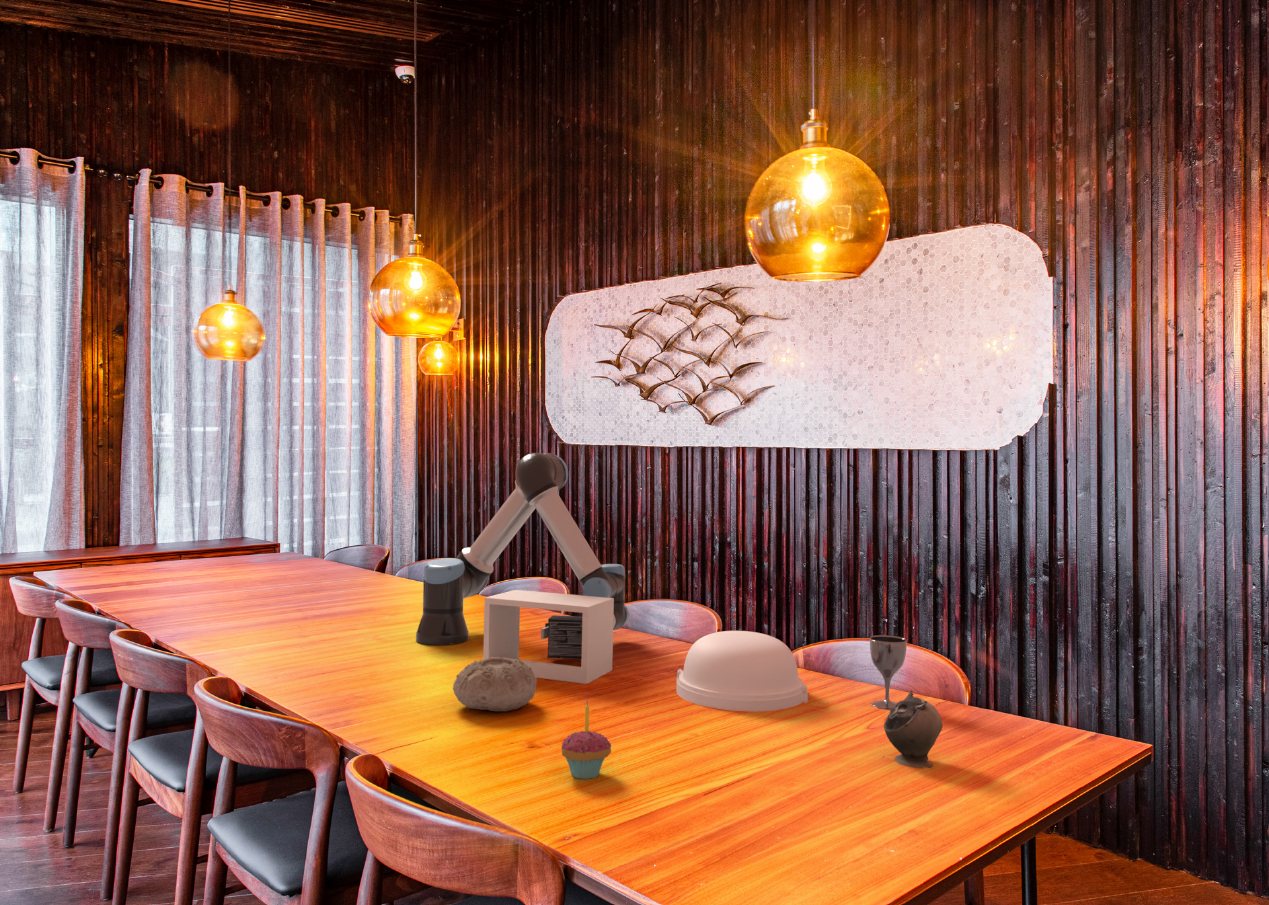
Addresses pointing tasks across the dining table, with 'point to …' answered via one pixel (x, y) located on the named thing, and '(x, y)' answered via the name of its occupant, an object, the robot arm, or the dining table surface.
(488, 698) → the decorative shell
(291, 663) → the dining table surface
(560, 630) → the small box
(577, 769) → the cupcake
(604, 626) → the cubby
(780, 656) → the dome cover
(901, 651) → the wine glass
